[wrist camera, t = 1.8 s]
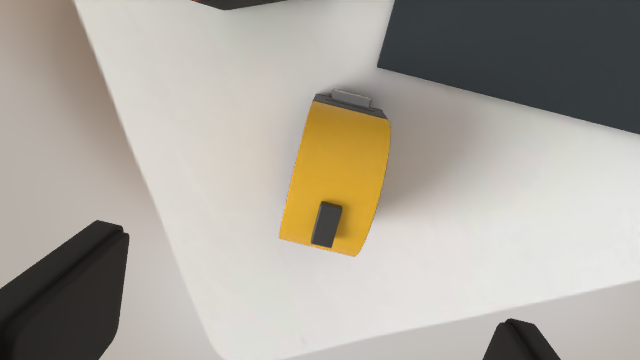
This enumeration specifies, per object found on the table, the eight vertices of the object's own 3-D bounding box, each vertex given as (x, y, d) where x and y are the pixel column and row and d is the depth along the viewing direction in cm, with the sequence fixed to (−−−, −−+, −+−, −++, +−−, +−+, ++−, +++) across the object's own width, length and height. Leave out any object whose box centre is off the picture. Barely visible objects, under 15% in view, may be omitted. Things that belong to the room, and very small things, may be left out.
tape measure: (318, 84, 25) (309, 100, 17) (384, 100, 25) (404, 124, 18) (288, 207, 27) (270, 268, 20) (349, 222, 27) (353, 288, 20)
